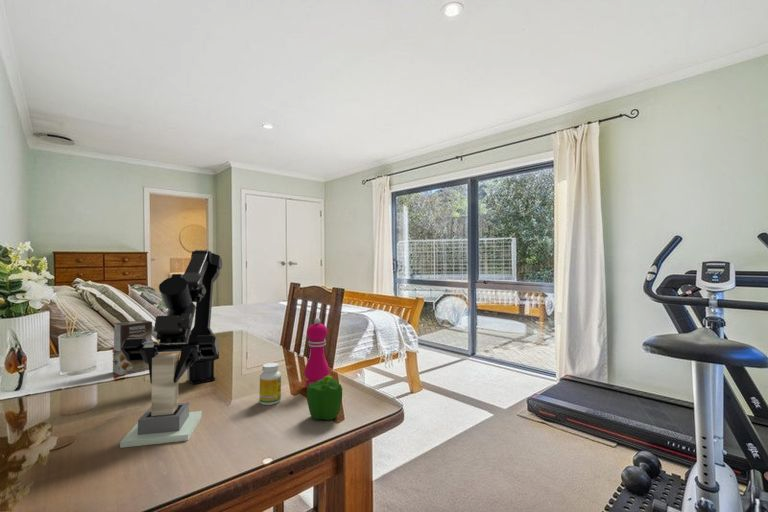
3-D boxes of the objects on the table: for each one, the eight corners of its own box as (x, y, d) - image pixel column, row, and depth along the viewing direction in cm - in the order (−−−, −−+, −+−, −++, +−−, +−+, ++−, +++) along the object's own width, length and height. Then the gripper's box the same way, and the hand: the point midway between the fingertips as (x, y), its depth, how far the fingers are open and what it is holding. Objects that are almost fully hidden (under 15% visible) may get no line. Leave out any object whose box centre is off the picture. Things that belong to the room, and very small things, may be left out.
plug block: (157, 408, 80) (158, 353, 80) (178, 406, 81) (178, 352, 81) (151, 416, 76) (152, 358, 76) (172, 414, 77) (173, 357, 77)
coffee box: (119, 375, 115) (120, 325, 115) (112, 372, 119) (113, 323, 119) (151, 369, 123) (152, 321, 123) (143, 365, 126) (144, 319, 127)
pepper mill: (305, 383, 109) (306, 316, 109) (330, 382, 110) (330, 316, 110) (302, 391, 102) (303, 320, 102) (328, 390, 103) (328, 320, 103)
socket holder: (144, 421, 82) (144, 402, 83) (201, 416, 85) (202, 398, 86) (120, 447, 71) (120, 426, 71) (188, 440, 74) (188, 419, 74)
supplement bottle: (259, 399, 96) (259, 362, 96) (280, 396, 98) (280, 361, 98) (259, 406, 91) (259, 368, 91) (281, 404, 93) (282, 366, 93)
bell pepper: (303, 412, 88) (303, 371, 88) (336, 407, 91) (336, 367, 91) (310, 427, 80) (310, 381, 80) (346, 420, 83) (346, 377, 83)
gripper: (125, 302, 80) (99, 366, 69) (216, 300, 85) (205, 360, 74) (138, 331, 88) (117, 393, 77) (222, 327, 92) (213, 385, 82)
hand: (163, 382), depth 77 cm, fingers closed on plug block, 4 cm apart
